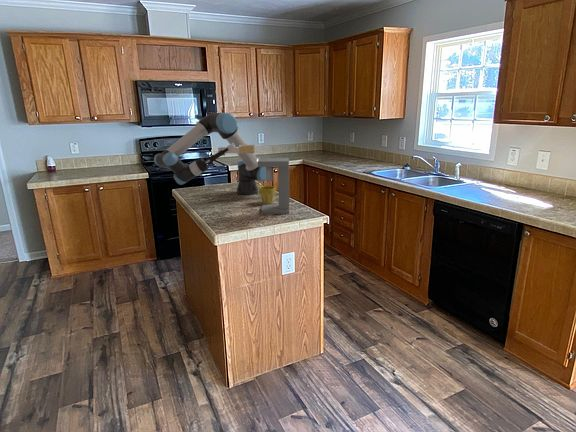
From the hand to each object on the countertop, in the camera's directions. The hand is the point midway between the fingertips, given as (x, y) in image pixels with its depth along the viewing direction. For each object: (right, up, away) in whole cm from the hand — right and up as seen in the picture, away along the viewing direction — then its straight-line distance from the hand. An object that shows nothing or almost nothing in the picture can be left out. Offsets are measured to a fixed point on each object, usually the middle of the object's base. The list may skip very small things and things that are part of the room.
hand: (233, 145), depth 209 cm
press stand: (+22, -36, +11) cm, 44 cm away
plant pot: (+17, -31, +29) cm, 46 cm away
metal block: (0, -4, +1) cm, 4 cm away
